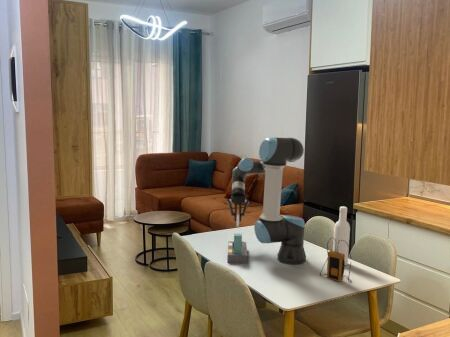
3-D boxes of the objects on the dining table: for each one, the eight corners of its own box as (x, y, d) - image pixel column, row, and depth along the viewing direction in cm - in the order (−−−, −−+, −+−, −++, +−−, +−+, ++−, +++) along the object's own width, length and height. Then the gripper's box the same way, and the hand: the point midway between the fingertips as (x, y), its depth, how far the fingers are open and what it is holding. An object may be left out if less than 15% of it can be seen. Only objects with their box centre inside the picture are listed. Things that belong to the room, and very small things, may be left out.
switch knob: (233, 253, 234) (233, 233, 233) (241, 253, 234) (242, 233, 233) (233, 256, 229) (233, 235, 228) (241, 256, 229) (242, 236, 228)
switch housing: (228, 248, 250) (228, 240, 249) (245, 249, 250) (246, 241, 249) (227, 262, 226) (227, 254, 225) (246, 263, 226) (247, 255, 225)
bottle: (338, 266, 226) (341, 209, 222) (328, 261, 233) (332, 205, 229) (350, 265, 229) (354, 208, 225) (341, 260, 236) (345, 205, 232)
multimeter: (357, 279, 209) (360, 238, 207) (347, 284, 202) (350, 242, 199) (329, 271, 219) (331, 231, 216) (319, 276, 212) (321, 235, 209)
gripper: (249, 194, 260) (249, 229, 245) (227, 194, 260) (225, 229, 245) (249, 187, 254) (249, 222, 239) (227, 186, 254) (225, 222, 239)
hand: (237, 226), depth 242 cm, fingers closed
